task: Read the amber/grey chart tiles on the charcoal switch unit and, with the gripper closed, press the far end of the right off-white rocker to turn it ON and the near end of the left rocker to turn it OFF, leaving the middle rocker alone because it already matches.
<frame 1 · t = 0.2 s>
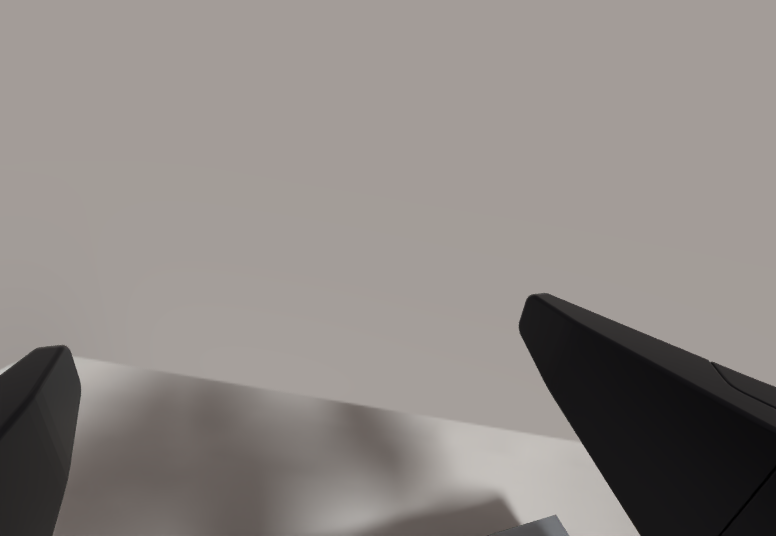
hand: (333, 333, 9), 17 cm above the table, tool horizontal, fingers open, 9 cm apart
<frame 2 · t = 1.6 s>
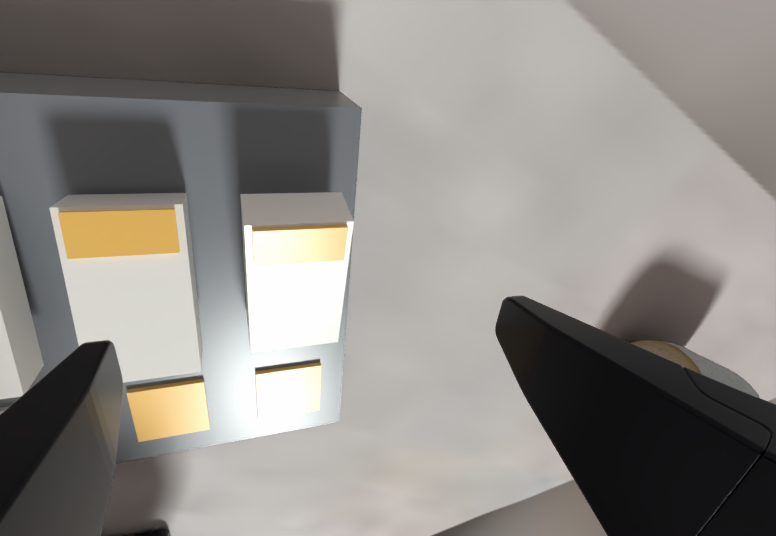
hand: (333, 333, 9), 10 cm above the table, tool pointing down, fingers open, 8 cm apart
rocker a: (294, 277, 15), point 5 cm above the table, hinge at -10.0°
switch unit: (161, 269, 18), on the table
rocker b: (137, 288, 13), point 5 cm above the table, hinge at 10.0°
ceramic mug: (617, 379, 33), on the table
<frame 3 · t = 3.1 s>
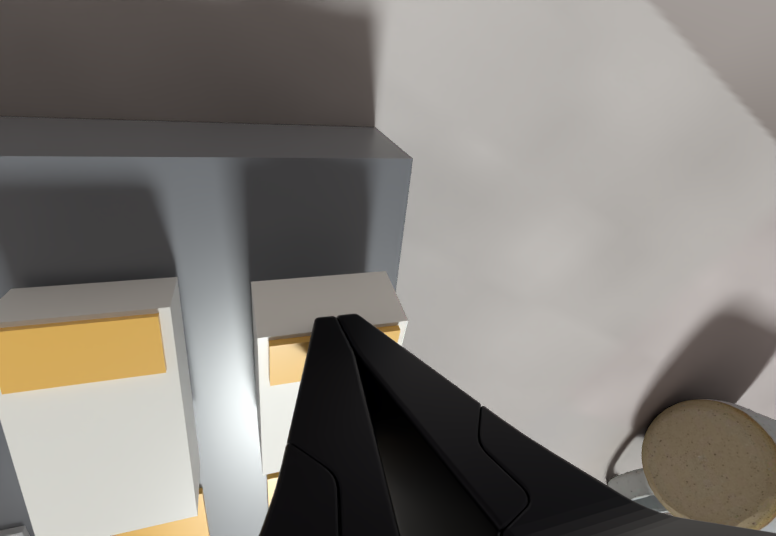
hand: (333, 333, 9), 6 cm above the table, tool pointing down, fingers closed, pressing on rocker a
rocker a: (321, 380, 11), point 5 cm above the table, hinge at -9.7°, touching gripper
switch unit: (149, 348, 14), on the table
rocker b: (109, 412, 10), point 5 cm above the table, hinge at 10.0°
ceramic mug: (664, 435, 30), on the table
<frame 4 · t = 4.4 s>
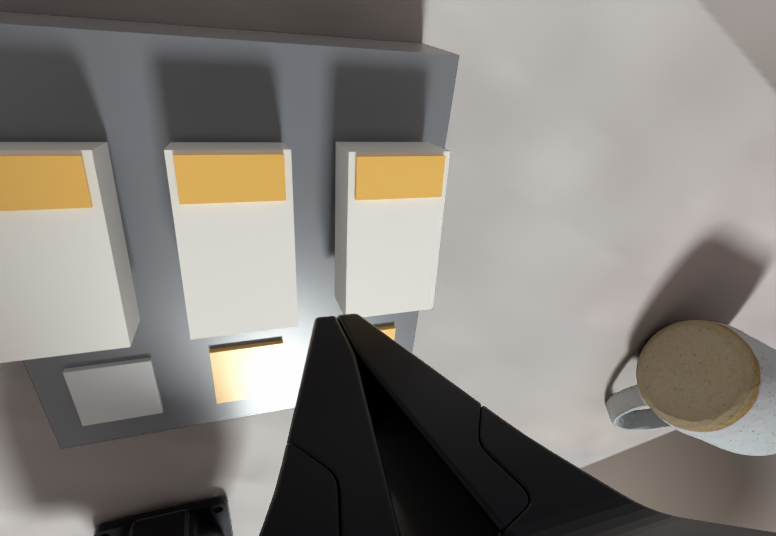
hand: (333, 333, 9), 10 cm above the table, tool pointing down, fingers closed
rocker c: (51, 251, 11), point 5 cm above the table, hinge at 10.0°
rocker a: (387, 231, 14), point 5 cm above the table, hinge at 7.0°
switch unit: (236, 231, 18), on the table
rocker b: (238, 240, 13), point 5 cm above the table, hinge at 10.0°
ceramic mug: (658, 360, 33), on the table
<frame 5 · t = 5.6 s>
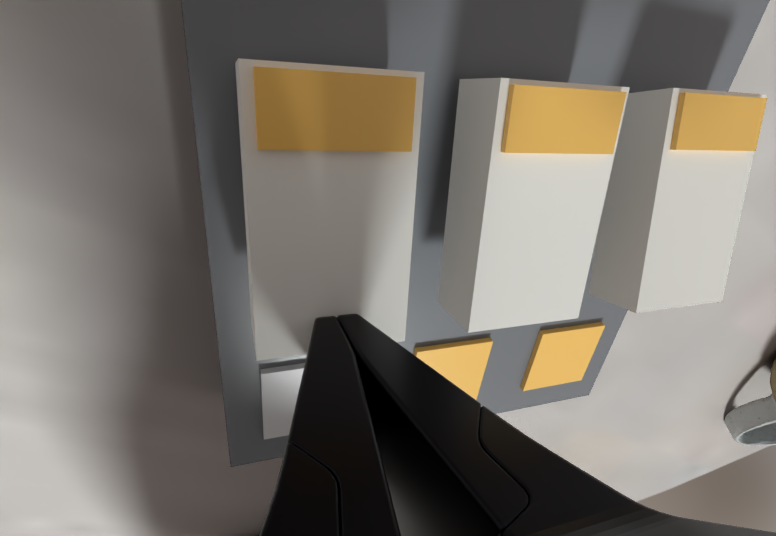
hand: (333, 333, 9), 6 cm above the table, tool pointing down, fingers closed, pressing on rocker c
rocker c: (327, 214, 9), point 5 cm above the table, hinge at 10.0°, touching gripper
rocker a: (673, 202, 12), point 5 cm above the table, hinge at 16.2°
switch unit: (431, 208, 15), on the table
rocker b: (524, 207, 10), point 5 cm above the table, hinge at 10.0°
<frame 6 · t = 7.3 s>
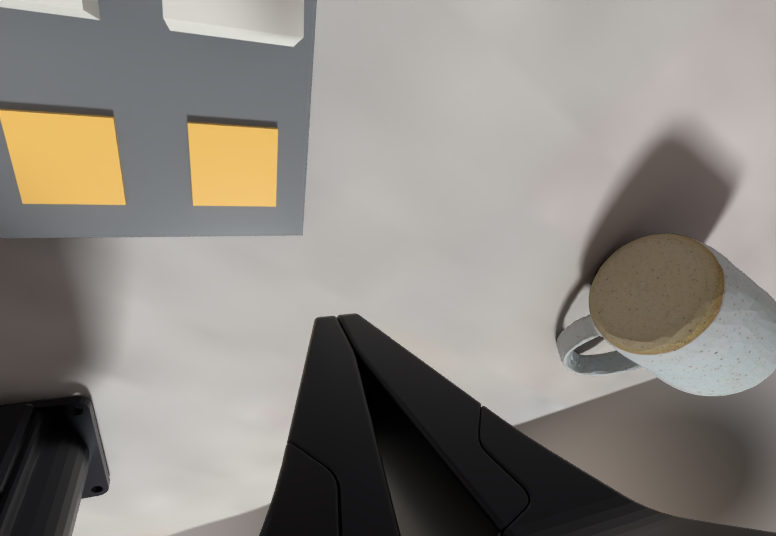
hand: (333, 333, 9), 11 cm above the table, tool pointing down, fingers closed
ceramic mug: (615, 295, 30), on the table
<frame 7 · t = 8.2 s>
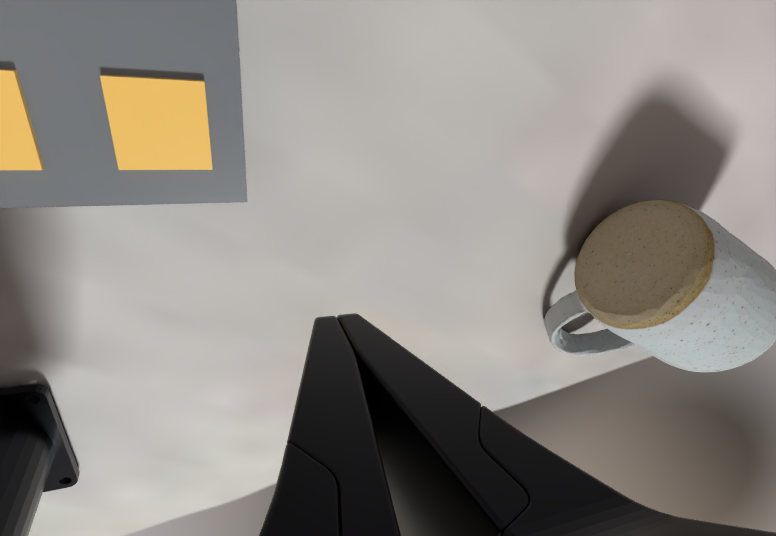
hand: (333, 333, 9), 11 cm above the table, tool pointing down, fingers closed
ceramic mug: (605, 270, 28), on the table
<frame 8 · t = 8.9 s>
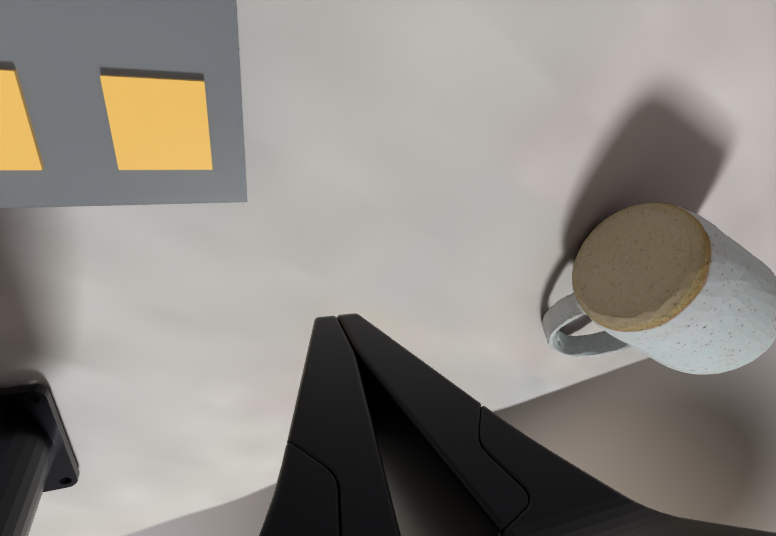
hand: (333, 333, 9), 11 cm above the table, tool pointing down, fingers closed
ceramic mug: (603, 272, 28), on the table
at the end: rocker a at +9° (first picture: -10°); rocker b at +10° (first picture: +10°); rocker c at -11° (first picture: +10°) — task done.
